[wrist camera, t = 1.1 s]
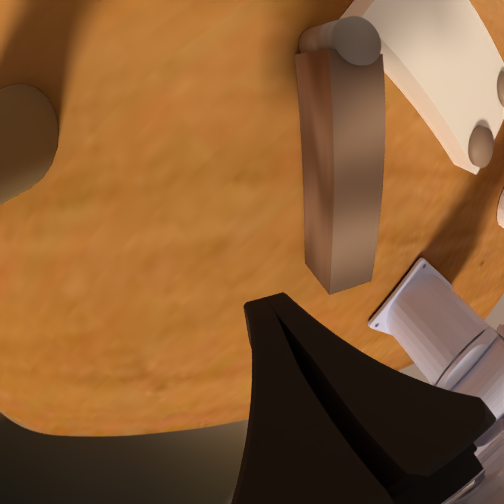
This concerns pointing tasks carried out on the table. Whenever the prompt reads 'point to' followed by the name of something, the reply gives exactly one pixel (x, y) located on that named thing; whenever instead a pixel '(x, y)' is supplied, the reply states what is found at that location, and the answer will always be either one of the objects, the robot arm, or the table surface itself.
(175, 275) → the table surface
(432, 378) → the robot arm
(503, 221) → the white cup
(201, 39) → the table surface
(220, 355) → the table surface
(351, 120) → the folding leg
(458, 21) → the stool seat
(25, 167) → the cork
